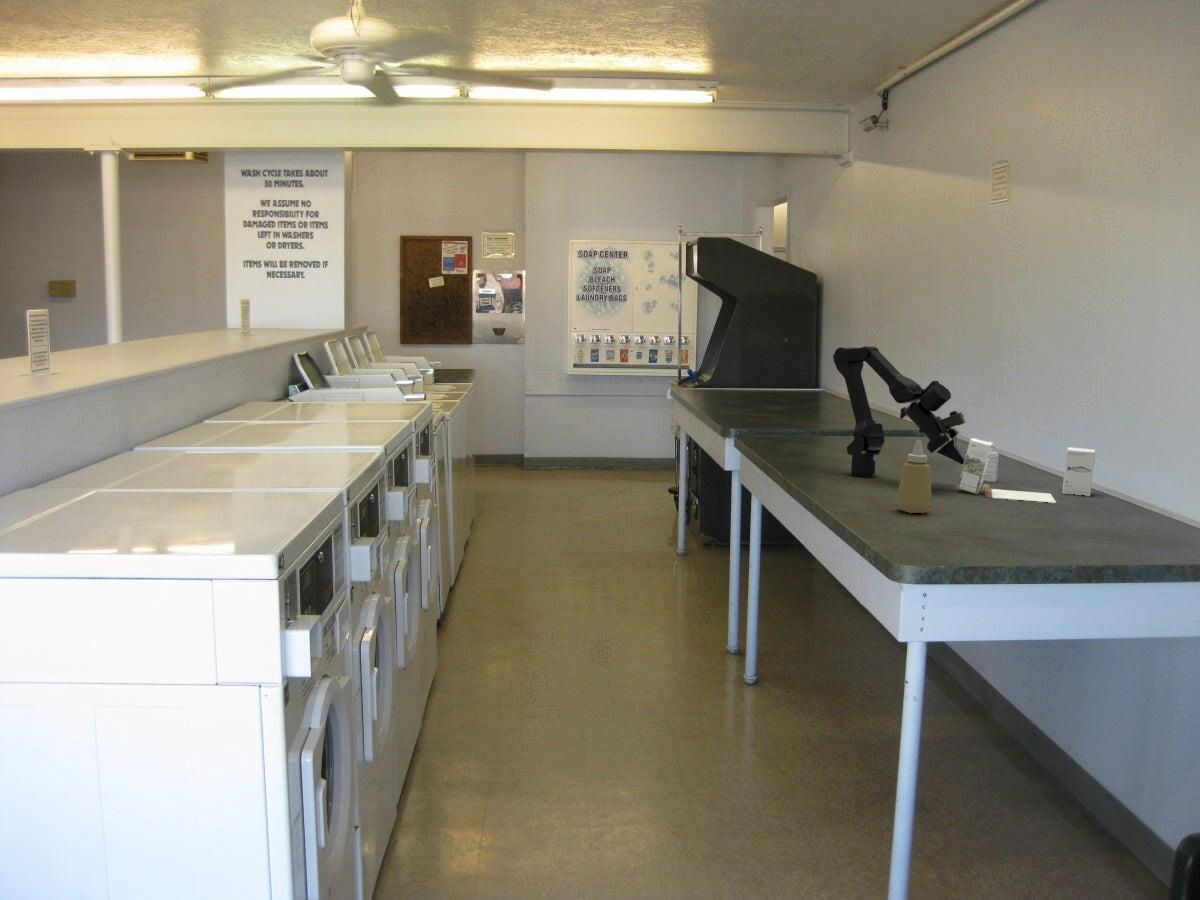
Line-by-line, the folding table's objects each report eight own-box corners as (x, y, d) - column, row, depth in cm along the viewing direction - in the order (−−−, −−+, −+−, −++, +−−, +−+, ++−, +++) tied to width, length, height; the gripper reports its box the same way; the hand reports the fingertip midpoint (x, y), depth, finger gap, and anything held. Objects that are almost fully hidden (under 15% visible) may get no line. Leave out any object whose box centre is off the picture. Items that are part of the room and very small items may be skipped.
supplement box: (1061, 494, 303) (1066, 449, 301) (1062, 490, 310) (1067, 446, 308) (1090, 497, 300) (1095, 451, 298) (1090, 493, 307) (1095, 448, 305)
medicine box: (992, 480, 323) (995, 451, 322) (996, 482, 318) (999, 453, 317) (965, 478, 324) (967, 450, 322) (968, 481, 319) (971, 452, 318)
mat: (992, 498, 292) (992, 497, 292) (989, 489, 305) (989, 488, 305) (1056, 503, 288) (1056, 502, 288) (1050, 494, 301) (1050, 493, 301)
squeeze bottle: (930, 510, 272) (936, 439, 269) (929, 516, 264) (935, 443, 261) (897, 507, 274) (902, 437, 272) (895, 513, 267) (900, 441, 264)
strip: (985, 497, 294) (985, 491, 293) (982, 489, 305) (983, 484, 305) (991, 497, 293) (992, 491, 293) (988, 490, 305) (989, 484, 304)
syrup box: (980, 491, 302) (994, 441, 298) (977, 495, 296) (991, 444, 293) (959, 486, 304) (973, 436, 301) (956, 489, 299) (969, 438, 296)
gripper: (942, 403, 292) (982, 448, 288) (953, 399, 308) (991, 441, 305) (910, 430, 296) (949, 474, 293) (923, 424, 313) (960, 466, 309)
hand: (963, 463), depth 300 cm, fingers closed
